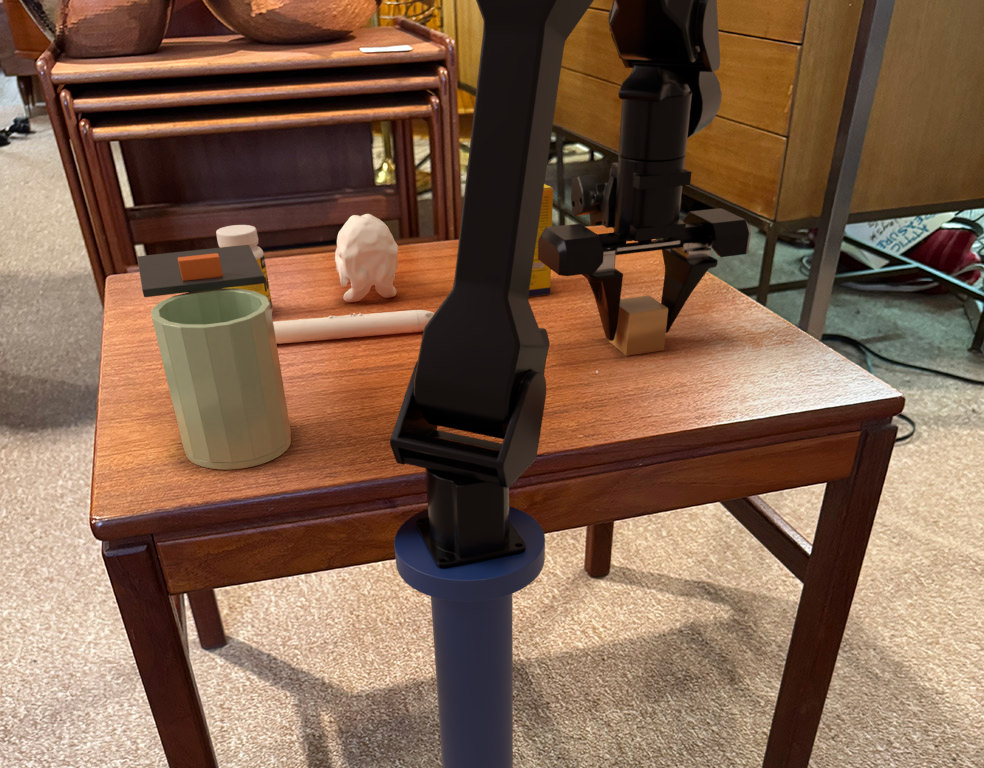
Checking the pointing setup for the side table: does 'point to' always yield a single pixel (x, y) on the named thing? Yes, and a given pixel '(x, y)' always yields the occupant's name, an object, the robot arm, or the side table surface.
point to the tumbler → (224, 376)
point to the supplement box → (539, 270)
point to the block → (640, 326)
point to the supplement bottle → (248, 236)
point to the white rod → (351, 326)
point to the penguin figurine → (366, 257)
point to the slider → (199, 270)
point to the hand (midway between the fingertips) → (636, 335)
